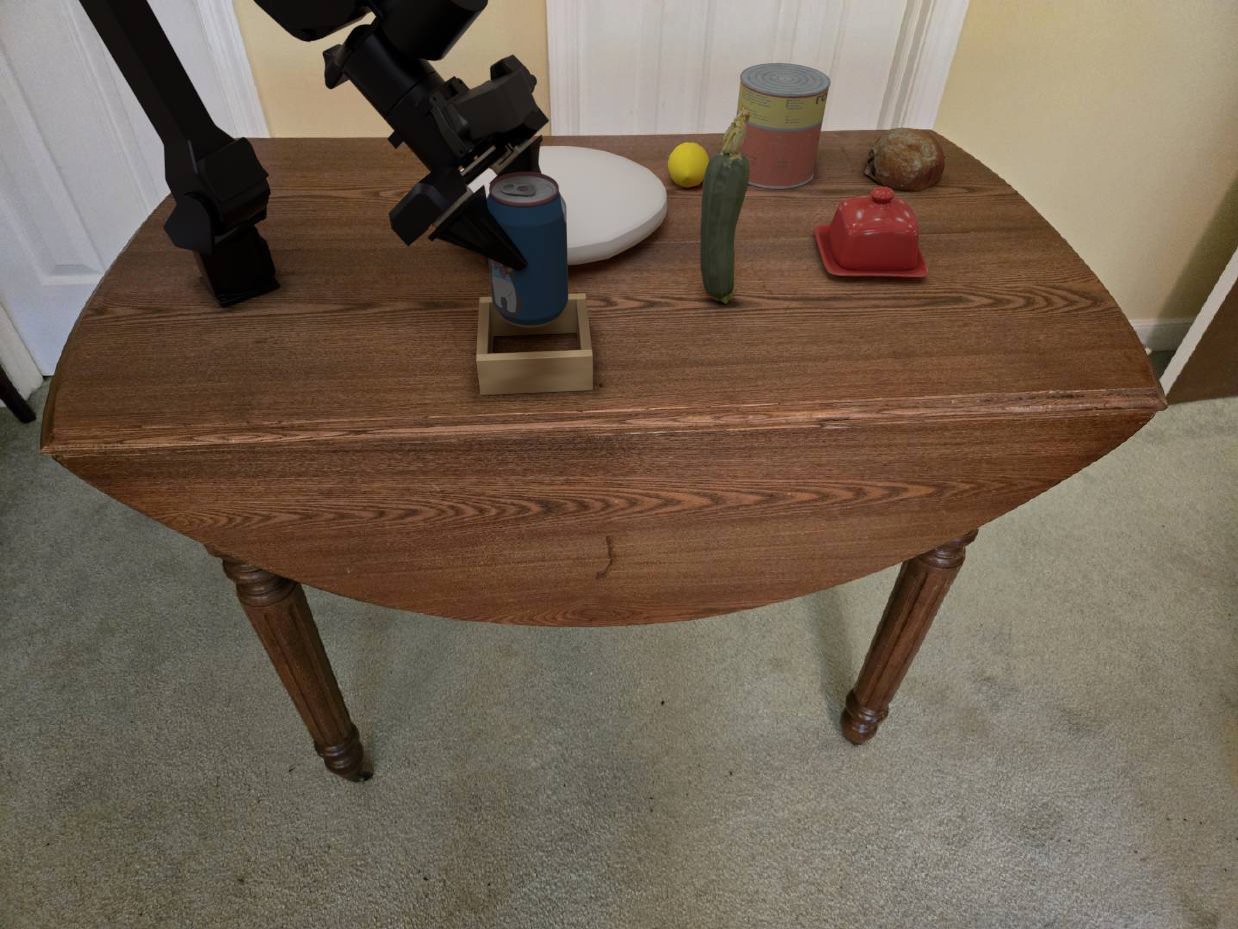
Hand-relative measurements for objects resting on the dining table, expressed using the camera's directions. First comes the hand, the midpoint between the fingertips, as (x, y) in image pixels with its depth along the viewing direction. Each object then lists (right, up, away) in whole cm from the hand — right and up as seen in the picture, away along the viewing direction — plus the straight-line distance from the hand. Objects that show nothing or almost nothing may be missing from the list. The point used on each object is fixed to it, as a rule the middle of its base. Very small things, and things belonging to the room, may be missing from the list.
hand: (542, 248), depth 71 cm
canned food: (+27, +21, +41) cm, 53 cm away
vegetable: (+17, -1, +17) cm, 24 cm away
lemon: (+16, +18, +37) cm, 44 cm away
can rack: (-1, -9, +9) cm, 12 cm away
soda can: (-1, -5, +5) cm, 7 cm away
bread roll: (+45, +20, +40) cm, 64 cm away
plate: (-1, +10, +29) cm, 31 cm away
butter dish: (+35, +5, +24) cm, 43 cm away
